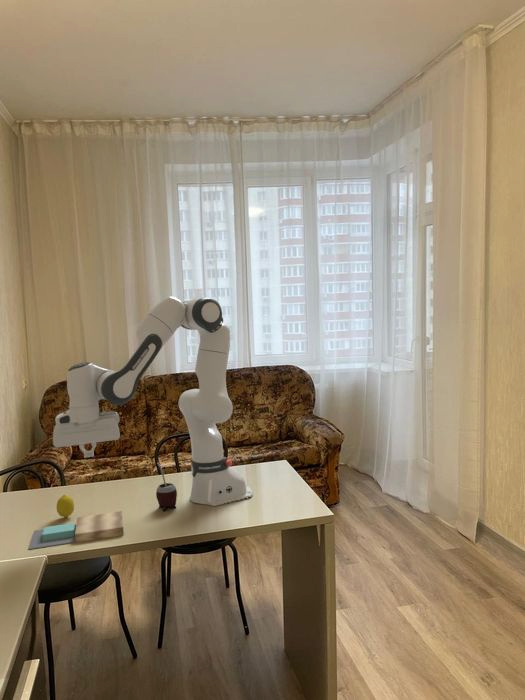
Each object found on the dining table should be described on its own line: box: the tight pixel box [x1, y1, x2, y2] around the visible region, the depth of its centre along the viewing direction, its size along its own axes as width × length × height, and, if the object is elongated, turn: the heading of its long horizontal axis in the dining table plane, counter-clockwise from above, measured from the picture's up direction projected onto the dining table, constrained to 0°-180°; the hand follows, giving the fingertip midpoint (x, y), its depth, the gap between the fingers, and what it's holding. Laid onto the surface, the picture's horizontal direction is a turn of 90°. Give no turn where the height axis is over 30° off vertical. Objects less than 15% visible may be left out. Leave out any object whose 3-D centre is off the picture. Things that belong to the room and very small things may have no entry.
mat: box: [28, 523, 76, 550], centre depth 166 cm, size 13×14×1 cm
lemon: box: [56, 494, 75, 519], centre depth 181 cm, size 6×6×8 cm
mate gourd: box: [155, 461, 178, 512], centre depth 186 cm, size 8×8×15 cm
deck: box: [75, 510, 125, 543], centre depth 170 cm, size 14×14×2 cm
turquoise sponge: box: [42, 522, 76, 541], centre depth 167 cm, size 9×6×2 cm, turn 106°
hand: (89, 456), depth 172 cm, fingers closed
